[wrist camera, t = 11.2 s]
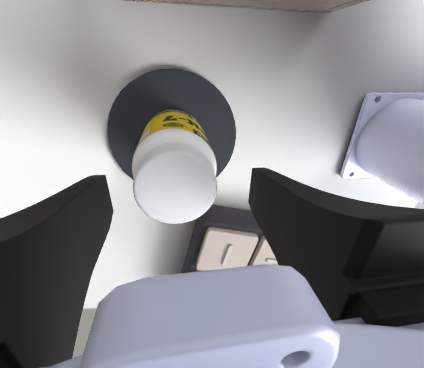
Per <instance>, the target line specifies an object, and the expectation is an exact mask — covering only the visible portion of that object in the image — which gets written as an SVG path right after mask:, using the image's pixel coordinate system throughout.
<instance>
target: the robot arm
mask: <svg viewBox="0 0 424 368" xmlns="http://www.w3.org/2000/svg"><path fill="white" fill-rule="evenodd" d="M376 97H377V99H376V101H375V98H376ZM350 173H351V174H350ZM349 174H350V175H349ZM340 176H341V177H342V178H343V179H355V178H371V177H377V178H378V179H380V180H382V181H384V182H385V183H387V184H389V185H391V186H393V187H394V188H396V189H398V190H400V191H401V192H403V193H405V194H407V195H409V196H410V197H412V198H414V199H416V200H417V201H419V202H421V203H423V204H424V93H373V92H371V93H368V94H367V95H366V96H365V98H364V101H363V104H362V107H361V110H360V113H359V116H358V119H357V123H356V126H355V129H354V132H353V135H352V138H351V141H350V145H349V148H348V151H347V154H346V157H345V160H344V164H343V167H342V170H341V173H340ZM249 205H250V208H251V211H252V213H253V216H254V218H255V220H256V222H257V224H258V226H259V228H260V230H261V231H262V233H263V235H264V237H265V239H266V240H267V242H268V244H269V246H270V248H271V250H272V252H273V254H274V256H275V258H276V261H277V263H278V265H269V264H261V265H252V266H243V267H234V268H225V269H216V270H207V271H198V272H189V273H180V274H171V275H162V276H153V277H146V278H143V279H139V280H136V281H133V282H129V283H126V284H123V285H120V286H117V287H116V288H115V289H114V290H113V291H111V292H110V293H109V294H108V295H107V296H106V297H105V298H104V299H103V300H102V301H100V302H99V303H98V307H97V310H96V314H95V317H94V321H93V324H92V327H91V330H90V333H89V337H88V340H87V343H86V347H85V350H84V353H83V355H80V356H77V357H75V358H72V356H73V350H74V346H75V341H76V336H77V331H78V327H79V322H80V318H81V313H82V310H83V305H84V301H85V297H86V293H87V290H88V286H89V282H90V278H91V275H92V272H93V269H94V267H95V264H96V262H97V259H98V257H99V254H100V252H101V249H102V247H103V244H104V242H105V239H106V236H107V234H108V231H109V229H110V225H111V220H112V215H113V207H112V203H111V198H110V194H109V189H108V185H107V180H106V176H105V175H93V176H89V177H87V178H84V179H82V180H80V181H79V182H77V183H75V184H73V185H71V186H69V187H68V188H66V189H64V190H62V191H60V192H58V193H57V194H55V195H53V196H51V197H49V198H47V199H45V200H43V201H41V202H39V203H37V204H34V205H32V206H30V207H28V208H26V209H23V210H21V211H18V212H16V213H13V214H11V215H9V216H6V217H3V218H0V368H424V209H416V208H406V207H396V206H388V205H382V204H375V203H369V202H364V201H359V200H354V199H350V198H346V197H342V196H338V195H334V194H331V193H328V192H324V191H321V190H318V189H315V188H312V187H310V186H307V185H305V184H302V183H300V182H297V181H295V180H293V179H290V178H288V177H286V176H284V175H282V174H279V173H277V172H275V171H272V170H270V169H267V168H252V176H251V184H250V193H249Z"/></svg>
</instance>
